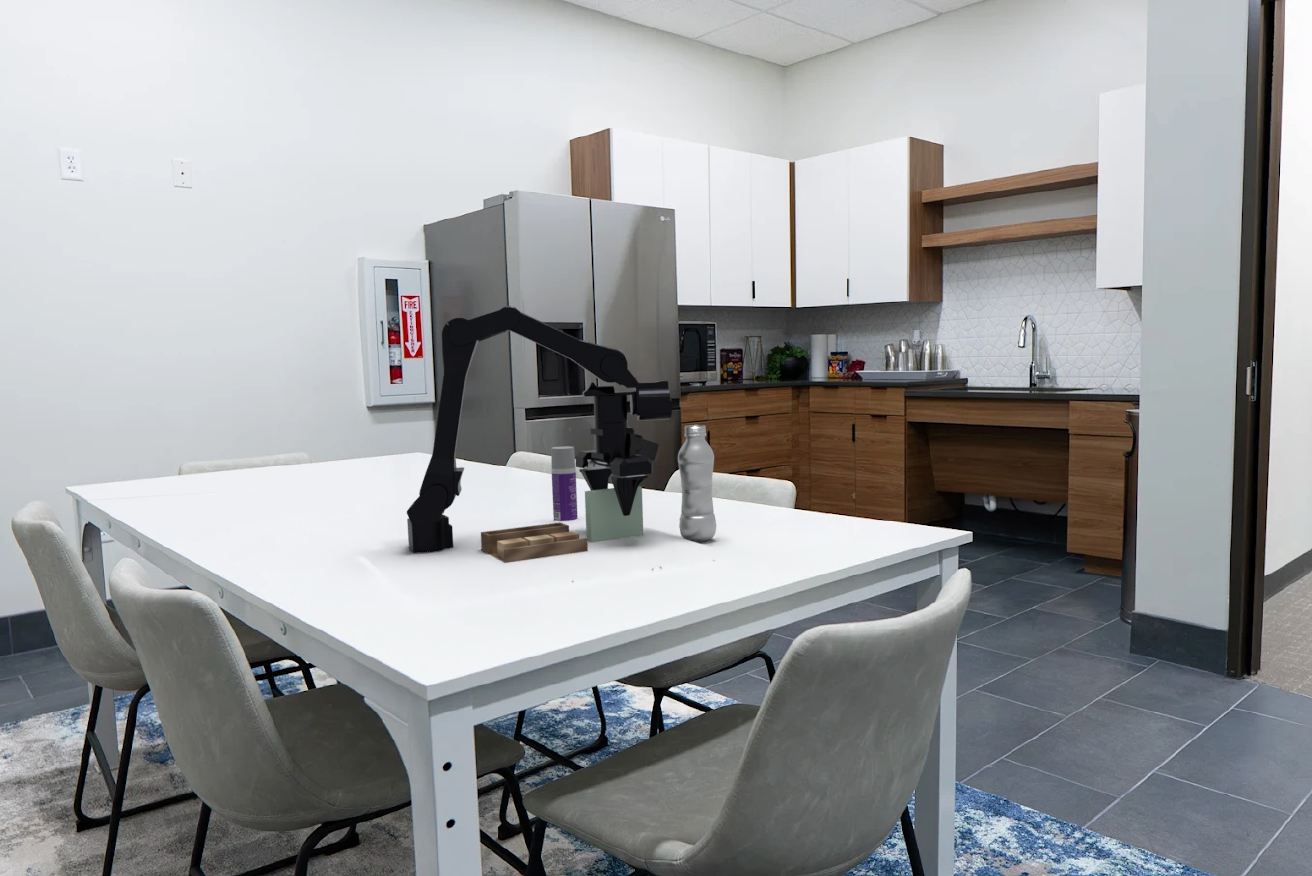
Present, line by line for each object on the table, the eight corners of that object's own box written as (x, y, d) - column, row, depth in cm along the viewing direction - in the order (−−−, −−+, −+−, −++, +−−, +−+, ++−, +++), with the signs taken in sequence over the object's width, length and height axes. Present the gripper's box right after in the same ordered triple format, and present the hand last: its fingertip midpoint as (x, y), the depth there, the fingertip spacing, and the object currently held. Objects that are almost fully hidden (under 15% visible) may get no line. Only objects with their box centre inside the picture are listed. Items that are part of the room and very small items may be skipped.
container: (576, 525, 176) (573, 448, 175) (552, 526, 176) (549, 449, 175) (578, 521, 181) (576, 446, 180) (555, 521, 181) (552, 446, 180)
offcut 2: (531, 555, 145) (530, 540, 145) (524, 552, 148) (523, 537, 148) (554, 552, 147) (553, 537, 147) (547, 549, 150) (546, 534, 150)
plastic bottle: (717, 536, 161) (714, 423, 159) (716, 544, 154) (713, 427, 153) (681, 537, 162) (677, 424, 160) (678, 545, 155) (674, 427, 153)
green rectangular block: (591, 544, 155) (589, 492, 154) (586, 543, 157) (584, 491, 156) (643, 537, 160) (641, 486, 159) (638, 535, 162) (636, 485, 161)
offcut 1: (504, 559, 143) (503, 544, 143) (497, 556, 146) (497, 541, 146) (528, 556, 145) (527, 540, 145) (521, 553, 148) (520, 537, 148)
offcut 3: (557, 552, 148) (556, 537, 147) (550, 549, 150) (549, 534, 150) (579, 549, 150) (579, 534, 149) (572, 546, 152) (571, 531, 152)
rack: (505, 568, 141) (504, 543, 141) (480, 555, 152) (479, 531, 151) (588, 556, 148) (587, 532, 148) (559, 544, 159) (558, 521, 158)
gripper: (679, 421, 152) (681, 514, 154) (628, 416, 168) (630, 500, 170) (619, 426, 147) (622, 521, 148) (572, 420, 163) (576, 506, 164)
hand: (614, 511), depth 158 cm, fingers open, 9 cm apart
